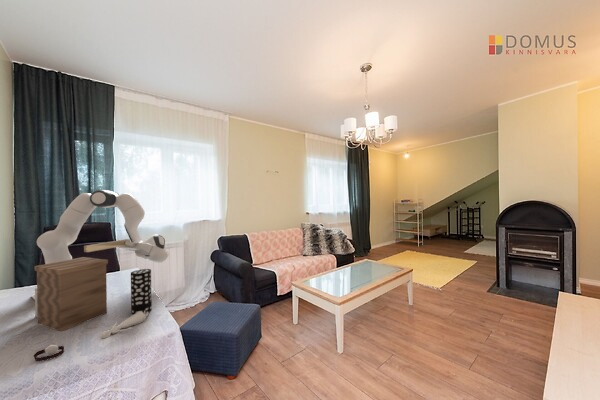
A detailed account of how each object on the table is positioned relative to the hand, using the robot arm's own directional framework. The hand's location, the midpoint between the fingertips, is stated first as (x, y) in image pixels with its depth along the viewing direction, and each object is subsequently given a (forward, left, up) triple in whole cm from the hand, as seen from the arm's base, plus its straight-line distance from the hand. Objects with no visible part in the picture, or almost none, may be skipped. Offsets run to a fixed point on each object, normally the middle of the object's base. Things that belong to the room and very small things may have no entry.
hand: (122, 242), depth 130 cm
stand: (0, -22, -32) cm, 39 cm away
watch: (+27, -41, -32) cm, 59 cm away
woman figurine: (+32, -19, -33) cm, 50 cm away
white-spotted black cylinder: (+25, -7, -32) cm, 41 cm away
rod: (0, -7, -2) cm, 7 cm away
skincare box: (-17, -25, -32) cm, 44 cm away
